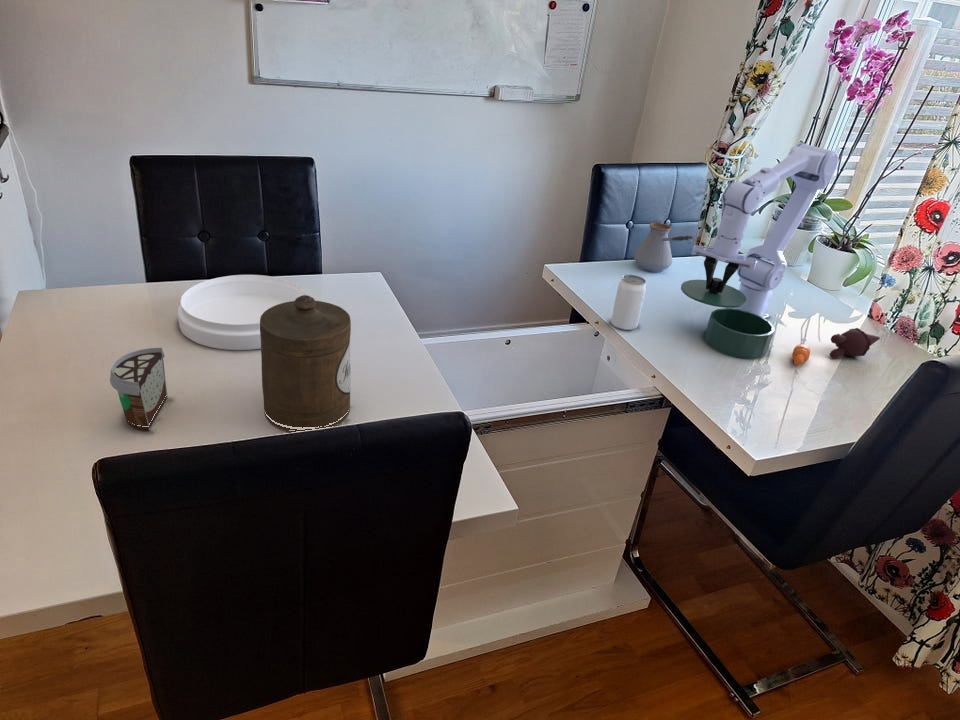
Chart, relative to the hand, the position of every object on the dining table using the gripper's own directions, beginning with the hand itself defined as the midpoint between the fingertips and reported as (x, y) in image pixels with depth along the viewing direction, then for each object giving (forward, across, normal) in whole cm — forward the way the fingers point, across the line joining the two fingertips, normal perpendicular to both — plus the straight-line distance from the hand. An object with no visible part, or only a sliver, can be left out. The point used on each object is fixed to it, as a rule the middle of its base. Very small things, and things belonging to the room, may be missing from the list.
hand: (714, 289), depth 161 cm
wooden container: (+11, -50, -86) cm, 100 cm away
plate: (+11, -84, -68) cm, 109 cm away
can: (+11, -17, -12) cm, 23 cm away
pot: (+10, +9, -4) cm, 14 cm away
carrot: (+10, +23, -2) cm, 26 cm away
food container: (+11, -71, -104) cm, 126 cm away
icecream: (+11, +33, +10) cm, 36 cm away
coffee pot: (+11, -20, +29) cm, 37 cm away
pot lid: (+1, 0, 0) cm, 1 cm away
